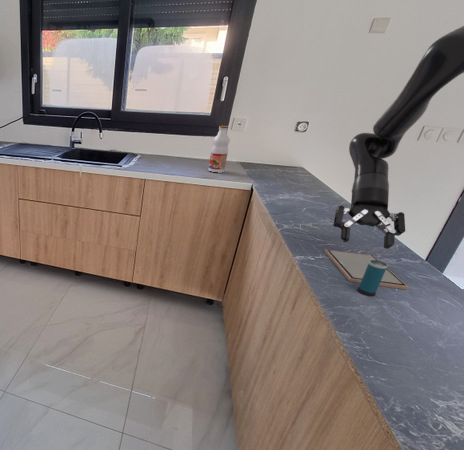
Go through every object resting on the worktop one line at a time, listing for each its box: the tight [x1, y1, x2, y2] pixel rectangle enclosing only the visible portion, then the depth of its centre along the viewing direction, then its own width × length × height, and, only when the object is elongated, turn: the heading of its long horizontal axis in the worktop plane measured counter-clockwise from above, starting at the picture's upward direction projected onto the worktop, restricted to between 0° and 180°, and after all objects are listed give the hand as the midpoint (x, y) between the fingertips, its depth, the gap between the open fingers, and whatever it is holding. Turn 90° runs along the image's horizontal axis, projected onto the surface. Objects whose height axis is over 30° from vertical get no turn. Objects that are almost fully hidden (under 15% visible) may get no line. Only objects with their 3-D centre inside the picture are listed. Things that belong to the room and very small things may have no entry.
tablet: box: [324, 248, 410, 291], centre depth 88 cm, size 12×18×1 cm, turn 160°
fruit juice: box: [207, 125, 230, 174], centre depth 193 cm, size 9×9×28 cm
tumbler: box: [357, 260, 389, 297], centre depth 77 cm, size 3×3×8 cm
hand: (366, 244), depth 84 cm, fingers open, 8 cm apart
